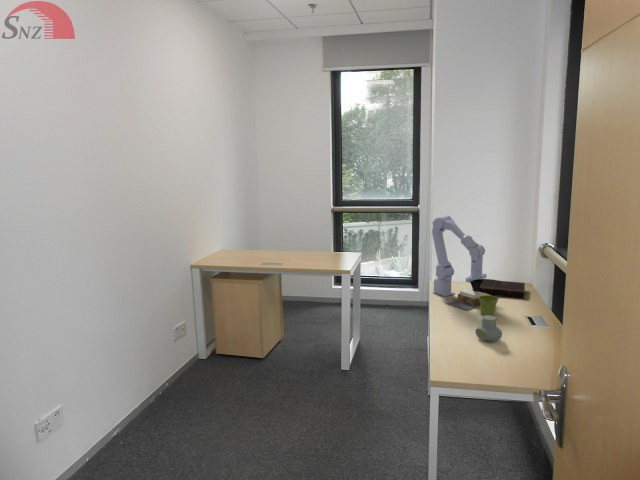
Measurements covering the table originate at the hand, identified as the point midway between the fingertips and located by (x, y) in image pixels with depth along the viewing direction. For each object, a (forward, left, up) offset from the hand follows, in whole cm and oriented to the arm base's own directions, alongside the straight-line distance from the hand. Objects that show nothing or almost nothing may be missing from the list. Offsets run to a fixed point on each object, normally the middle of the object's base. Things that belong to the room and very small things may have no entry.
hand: (475, 292), depth 254 cm
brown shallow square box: (0, -1, -5) cm, 5 cm away
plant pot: (+17, -12, -5) cm, 21 cm away
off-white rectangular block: (0, -4, -1) cm, 4 cm away
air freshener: (+36, -36, -5) cm, 51 cm away
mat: (0, -11, -5) cm, 12 cm away
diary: (-2, +24, -5) cm, 25 cm away
